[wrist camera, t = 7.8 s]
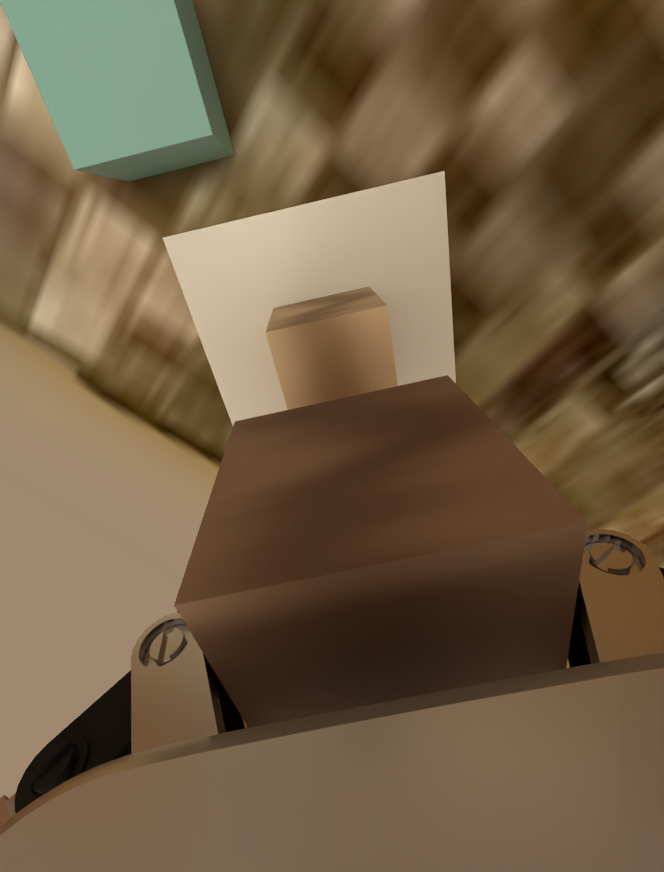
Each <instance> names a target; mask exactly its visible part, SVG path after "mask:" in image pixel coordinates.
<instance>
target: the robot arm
mask: <svg viewBox="0 0 664 872" xmlns="http://www.w3.org/2000/svg"><path fill="white" fill-rule="evenodd" d="M0 872H664V569H663V568H660V567H659V566H658V564H657V562H656V560H655V558H654V556H653V555H652V553H651V552H650V550H649V549H648V548H647V547H646V546H645V545H643V544H642V543H641V542H640V541H638V540H637V539H635V538H633V537H631V536H629V535H627V534H624V533H621V532H617V531H613V530H607V529H591V530H588V531H586V538H585V544H584V551H583V558H582V565H581V572H580V578H579V585H578V592H577V599H576V605H575V612H574V619H573V626H572V632H571V639H570V646H569V653H568V660H567V666H566V669H560V670H555V671H549V672H544V673H538V674H533V675H527V676H522V677H516V678H511V679H505V680H500V681H494V682H489V683H483V684H478V685H472V686H467V687H462V688H456V689H451V690H446V691H440V692H435V693H429V694H424V695H419V696H413V697H408V698H403V699H397V700H392V701H387V702H382V703H376V704H371V705H366V706H360V707H355V708H350V709H344V710H339V711H334V712H329V713H324V714H318V715H313V716H308V717H303V718H298V719H293V720H287V721H282V722H277V723H272V724H267V725H262V726H256V727H251V728H248V726H247V724H246V723H245V721H244V719H243V718H242V716H241V714H240V713H239V711H238V710H237V708H236V706H235V705H234V703H233V701H232V700H231V698H230V696H229V695H228V693H227V691H226V690H225V688H224V686H223V685H222V683H221V682H220V680H219V678H218V677H217V675H216V673H215V672H214V670H213V668H212V667H211V665H210V663H209V662H208V660H207V659H206V657H205V655H204V654H203V652H202V650H201V649H200V647H199V645H198V644H197V642H196V640H195V639H194V637H193V635H192V634H191V632H190V631H189V629H188V627H187V626H186V624H185V622H184V621H183V619H182V617H181V616H180V614H179V612H177V613H172V614H169V615H167V616H164V617H162V618H160V619H159V620H157V621H156V622H154V623H153V624H152V625H151V626H149V627H148V628H147V629H146V630H145V631H144V632H143V634H142V635H141V636H140V637H139V639H138V640H137V642H136V644H135V646H134V648H133V652H132V657H131V671H130V672H128V673H127V674H126V675H125V676H124V677H123V678H122V679H121V680H119V681H118V682H117V683H116V684H115V685H114V686H113V687H112V688H110V689H109V690H108V691H107V692H106V693H105V694H104V695H102V696H101V697H100V698H99V699H98V700H97V701H96V702H95V703H93V704H92V705H91V706H90V707H89V708H88V709H87V710H86V711H84V712H83V713H82V714H81V715H80V716H79V717H78V718H76V719H75V720H74V721H73V722H72V723H71V724H70V725H69V726H68V727H66V728H65V729H64V730H63V731H62V732H61V733H60V734H59V735H57V736H56V737H55V738H54V739H53V740H52V741H51V742H49V743H48V744H47V745H46V746H45V747H44V748H43V749H42V750H41V751H40V752H39V754H38V755H37V756H36V757H35V758H34V759H33V761H32V762H31V764H30V765H29V766H28V768H27V769H26V771H25V773H24V775H23V777H22V779H21V781H20V783H19V785H18V788H17V792H16V793H15V794H14V795H13V796H12V797H11V798H8V797H7V796H5V795H3V796H2V797H1V798H0Z"/></svg>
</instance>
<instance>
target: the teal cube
mask: <svg viewBox="0 0 664 872" xmlns="http://www.w3.org/2000/svg"><path fill="white" fill-rule="evenodd" d="M0 3H1V5H2V7H3V9H4V12H5V14H6V16H7V18H8V21H9V23H10V25H11V28H12V30H13V32H14V34H15V37H16V39H17V41H18V43H19V46H20V48H21V50H22V52H23V55H24V57H25V59H26V61H27V64H28V66H29V68H30V71H31V73H32V75H33V77H34V80H35V82H36V84H37V86H38V89H39V91H40V93H41V95H42V98H43V100H44V102H45V104H46V107H47V109H48V111H49V114H50V116H51V118H52V120H53V123H54V125H55V127H56V129H57V132H58V134H59V136H60V138H61V141H62V143H63V145H64V147H65V150H66V152H67V154H68V157H69V159H70V161H71V163H72V166H73V168H74V170H78V171H83V172H87V173H92V174H96V175H101V176H106V177H110V178H115V179H120V180H124V181H133V180H137V179H141V178H145V177H149V176H153V175H157V174H161V173H165V172H169V171H173V170H177V169H181V168H185V167H189V166H193V165H197V164H201V163H205V162H209V161H213V160H217V159H221V158H225V157H229V156H233V155H234V151H233V147H232V144H231V140H230V136H229V133H228V129H227V125H226V122H225V118H224V114H223V111H222V107H221V103H220V99H219V96H218V92H217V88H216V85H215V81H214V77H213V74H212V70H211V66H210V63H209V59H208V55H207V52H206V48H205V44H204V41H203V37H202V33H201V30H200V26H199V22H198V19H197V15H196V11H195V7H194V4H193V1H192V0H0Z"/></svg>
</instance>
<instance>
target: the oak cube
mask: <svg viewBox="0 0 664 872" xmlns="http://www.w3.org/2000/svg"><path fill="white" fill-rule="evenodd" d="M265 333H266V336H267V340H268V343H269V347H270V350H271V354H272V357H273V361H274V364H275V368H276V371H277V375H278V378H279V381H280V385H281V388H282V392H283V395H284V399H285V402H286V406H287V409H288V410H290V409H295V408H299V407H304V406H308V405H313V404H318V403H322V402H327V401H331V400H336V399H340V398H345V397H350V396H354V395H359V394H363V393H368V392H373V391H377V390H382V389H386V388H391V387H396V386H398V384H397V376H396V369H395V361H394V353H393V346H392V338H391V331H390V323H389V316H388V308H387V304H386V303H385V302H384V301H383V300H382V299H381V298H380V297H379V296H378V295H377V294H376V293H375V292H374V291H373V290H372V289H371V288H370V287H369V286H368V287H364V288H359V289H355V290H351V291H346V292H342V293H337V294H333V295H329V296H324V297H320V298H315V299H311V300H306V301H302V302H298V303H293V304H289V305H284V306H280V307H276V308H273V311H272V314H271V317H270V320H269V323H268V326H267V329H266V332H265Z"/></svg>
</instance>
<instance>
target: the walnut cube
mask: <svg viewBox="0 0 664 872" xmlns="http://www.w3.org/2000/svg"><path fill="white" fill-rule="evenodd" d="M587 524H588V522H587V521H586V520H585V519H584V518H583V517H582V516H581V515H580V514H579V513H578V512H577V510H576V509H575V508H574V507H573V506H572V505H571V504H570V503H569V502H568V501H567V500H566V499H565V498H564V497H563V496H562V495H561V494H560V493H559V492H558V490H557V489H556V488H555V487H554V486H553V485H552V484H551V483H550V482H549V481H548V480H547V479H546V478H545V477H544V476H543V475H542V474H541V473H540V472H539V471H538V469H537V468H536V467H535V466H534V465H533V464H532V463H531V462H530V461H529V460H528V459H527V458H526V457H525V456H524V455H523V454H522V453H521V452H520V451H519V450H518V448H517V447H516V446H515V445H514V444H513V443H512V442H511V441H510V440H509V439H508V438H507V437H506V436H505V435H504V434H503V433H502V432H501V431H500V430H499V428H498V427H497V426H496V425H495V424H494V423H493V422H492V421H491V420H490V419H489V418H488V417H487V416H486V415H485V414H484V413H483V412H482V411H481V410H480V409H479V407H478V406H477V405H476V404H475V403H474V402H473V401H472V400H471V399H470V398H469V397H468V396H467V395H466V394H465V393H464V392H463V391H462V390H461V389H460V388H459V386H458V385H457V384H456V383H455V382H454V381H453V380H452V379H451V378H450V377H449V376H448V375H446V376H442V377H437V378H432V379H428V380H423V381H419V382H414V383H409V384H405V385H400V386H396V387H391V388H386V389H382V390H377V391H373V392H368V393H363V394H359V395H354V396H350V397H345V398H340V399H336V400H331V401H327V402H322V403H318V404H313V405H308V406H304V407H299V408H295V409H290V410H285V411H281V412H276V413H272V414H267V415H262V416H258V417H253V418H249V419H244V420H239V421H235V422H234V425H233V429H232V432H231V435H230V438H229V441H228V444H227V447H226V450H225V453H224V456H223V459H222V462H221V465H220V468H219V471H218V474H217V477H216V480H215V483H214V486H213V489H212V492H211V495H210V499H209V501H208V505H207V507H206V510H205V513H204V517H203V520H202V523H201V526H200V529H199V532H198V535H197V538H196V541H195V544H194V547H193V550H192V553H191V556H190V559H189V562H188V565H187V568H186V571H185V574H184V577H183V580H182V583H181V586H180V589H179V592H178V595H177V599H176V602H175V605H174V606H175V607H176V609H177V611H178V612H179V614H180V616H181V617H182V619H183V621H184V622H185V624H186V626H187V627H188V629H189V631H190V632H191V634H192V635H193V637H194V639H195V640H196V642H197V644H198V645H199V647H200V649H201V650H202V652H203V654H204V655H205V657H206V659H207V660H208V662H209V663H210V665H211V667H212V668H213V670H214V672H215V673H216V675H217V677H218V678H219V680H220V682H221V683H222V685H223V686H224V688H225V690H226V691H227V693H228V695H229V696H230V698H231V700H232V701H233V703H234V705H235V706H236V708H237V710H238V711H239V713H240V714H241V716H242V718H243V719H244V721H245V723H246V724H247V726H248V728H251V727H256V726H262V725H267V724H272V723H277V722H282V721H287V720H293V719H298V718H303V717H308V716H313V715H318V714H324V713H329V712H334V711H339V710H344V709H350V708H355V707H360V706H366V705H371V704H376V703H382V702H387V701H392V700H397V699H403V698H408V697H413V696H419V695H424V694H429V693H435V692H440V691H446V690H451V689H456V688H462V687H467V686H472V685H478V684H483V683H489V682H494V681H500V680H505V679H511V678H516V677H522V676H527V675H533V674H538V673H544V672H549V671H555V670H560V669H566V666H567V660H568V653H569V646H570V639H571V632H572V626H573V619H574V612H575V605H576V599H577V592H578V585H579V578H580V572H581V565H582V558H583V551H584V544H585V538H586V531H587Z"/></svg>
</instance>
